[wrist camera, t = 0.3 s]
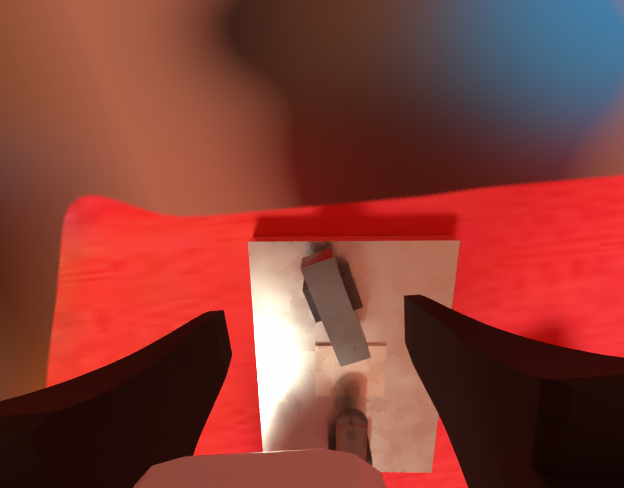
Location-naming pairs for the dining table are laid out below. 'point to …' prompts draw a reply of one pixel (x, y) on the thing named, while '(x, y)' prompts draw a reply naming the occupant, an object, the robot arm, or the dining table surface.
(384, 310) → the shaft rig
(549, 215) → the dining table surface
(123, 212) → the dining table surface
